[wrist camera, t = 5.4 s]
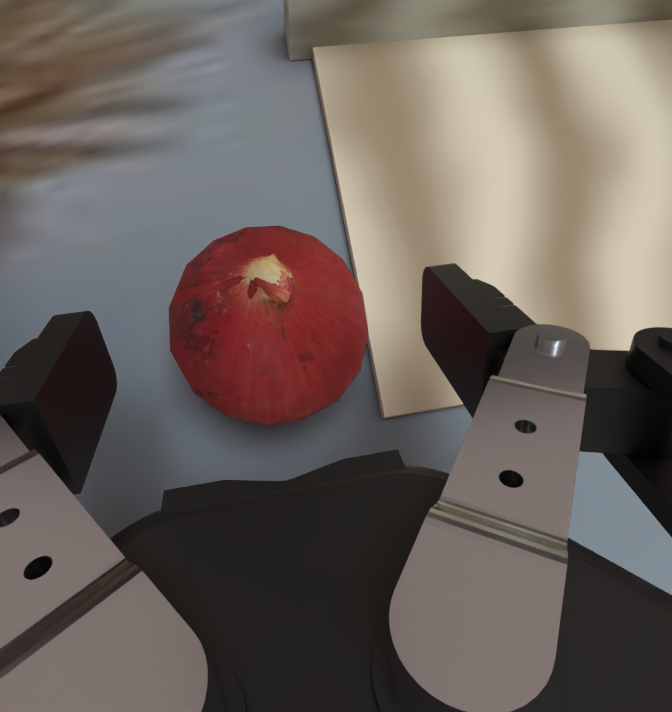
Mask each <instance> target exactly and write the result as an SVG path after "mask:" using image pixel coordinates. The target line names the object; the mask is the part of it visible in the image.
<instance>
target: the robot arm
mask: <svg viewBox="0 0 672 712" xmlns="http://www.w3.org/2000/svg"><path fill="white" fill-rule="evenodd" d="M421 332H422V337H423V341H424V344H425V346H426V348H427V349H428V351H429V352H430V354H431V355H432V357H433V358H434V360H435V361H436V363H437V364H438V366H439V367H440V369H441V370H442V372H443V374H444V375H445V377H446V378H447V380H448V381H449V383H450V384H451V386H452V387H453V389H454V390H455V392H456V393H457V395H458V396H459V398H460V400H461V401H462V403H463V404H464V406H465V407H466V409H467V410H468V412H469V413H470V415H471V416H472V418H473V420H472V422H471V424H470V427H469V429H468V432H467V434H466V436H465V439H464V441H463V444H462V446H461V448H460V451H459V453H458V456H457V458H456V461H455V463H454V465H453V468H452V470H451V473H450V474H448V473H445V472H441V471H438V470H433V469H429V468H423V467H414V466H404V463H403V461H402V458H401V456H400V453H399V451H398V450H393V451H387V452H381V453H376V454H370V455H364V456H359V457H353V458H347V459H342V460H340V461H337V462H334V463H332V464H329V465H327V466H324V467H321V468H319V469H316V470H314V471H311V472H309V473H306V474H303V475H301V476H298V477H296V478H293V479H290V480H286V481H243V480H222V481H216V482H210V483H205V484H199V485H193V486H188V487H182V488H176V489H171V490H165V491H164V494H163V500H162V507H161V510H159V511H157V512H154V513H152V514H150V515H148V516H146V517H144V518H142V519H140V520H138V521H136V522H135V523H133V524H131V525H129V526H128V527H126V528H125V529H123V530H122V531H120V532H119V533H117V534H116V535H115V536H113V537H112V538H111V539H109V537H108V536H107V535H106V534H105V533H104V531H103V530H102V529H101V528H100V526H99V525H98V524H97V523H96V522H95V520H94V519H93V518H92V517H91V516H90V514H89V513H88V512H87V511H86V510H85V508H84V507H83V506H82V505H81V504H80V502H79V501H78V500H77V499H76V497H75V496H74V495H73V494H79V493H81V490H82V488H83V485H84V482H85V479H86V476H87V473H88V470H89V468H90V465H91V462H92V459H93V456H94V453H95V451H96V448H97V445H98V442H99V439H100V436H101V434H102V431H103V428H104V425H105V422H106V419H107V416H108V414H109V411H110V408H111V405H112V402H113V399H114V397H115V394H116V389H117V379H116V373H115V369H114V366H113V363H112V360H111V358H110V355H109V352H108V350H107V347H106V344H105V342H104V339H103V336H102V334H101V331H100V328H99V326H98V323H97V321H96V319H95V317H94V315H93V314H92V313H91V312H90V311H83V312H76V313H68V314H61V315H54V316H53V317H52V318H51V320H50V321H49V322H48V324H47V325H46V327H45V328H44V330H43V331H42V332H41V334H40V335H39V337H38V338H37V339H33V340H31V341H30V342H28V343H27V344H26V345H24V346H23V347H21V348H20V349H19V350H17V351H16V352H15V353H14V354H13V356H12V357H11V358H10V360H9V361H8V362H7V364H6V365H5V368H3V369H2V370H1V372H0V712H672V595H670V594H668V593H667V592H665V591H663V590H661V589H659V588H658V587H656V586H654V585H652V584H650V583H649V582H647V581H645V580H643V579H642V578H640V577H638V576H636V575H634V574H633V573H631V572H629V571H627V570H625V569H624V568H622V567H620V566H618V565H616V564H615V563H613V562H611V561H609V560H607V559H606V558H604V557H602V556H600V555H598V554H597V553H595V552H593V551H591V550H589V549H588V548H586V547H584V546H582V545H580V544H579V543H577V542H575V541H573V540H571V539H570V538H568V532H569V525H570V517H571V510H572V502H573V495H574V488H575V480H576V473H577V465H578V458H579V451H583V452H598V453H603V454H604V456H605V457H606V458H607V460H608V461H609V462H610V463H611V464H612V466H613V467H614V468H615V469H616V470H617V472H618V473H619V474H620V475H621V477H622V478H623V479H624V480H625V481H626V483H627V484H628V485H629V486H630V487H631V489H632V490H633V491H634V492H635V493H636V495H637V496H638V497H639V498H640V499H641V501H642V502H643V503H644V504H645V506H646V507H647V508H648V509H649V510H650V512H651V513H652V514H653V515H654V516H655V518H656V519H657V520H658V521H659V522H660V524H661V525H662V526H663V527H664V529H665V530H666V531H667V532H668V533H669V535H670V536H671V537H672V328H667V327H652V328H645V329H642V330H640V331H638V332H637V333H635V335H634V337H633V340H632V343H631V346H630V350H629V351H621V350H595V349H590V344H589V342H588V340H587V339H586V338H585V337H584V336H583V335H581V334H580V333H578V332H576V331H574V330H571V329H569V328H566V327H562V326H557V325H550V324H536V323H535V322H534V321H533V320H532V319H531V318H529V317H528V316H527V315H526V314H525V313H524V312H523V311H522V310H520V309H519V308H518V307H517V306H516V305H514V303H513V302H512V301H510V300H509V299H508V298H507V297H506V298H505V295H504V294H503V293H501V292H500V291H499V290H498V289H497V288H496V287H495V286H493V285H490V284H488V283H486V282H483V281H481V280H479V279H472V278H471V277H470V276H469V275H468V274H467V273H466V272H464V271H463V270H462V269H461V268H460V267H459V266H458V265H457V264H456V263H451V264H443V265H436V266H428V267H425V268H424V271H423V275H422V298H421Z"/></svg>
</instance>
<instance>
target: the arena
mask: <svg viewBox="0 0 672 712" xmlns="http://www.w3.org/2000/svg"><path fill="white" fill-rule="evenodd" d="M284 29H285V38H286V43H287V49H288V54H289V60H290V61H293V60H306V59H312V60H313V65H314V70H315V76H316V81H317V86H318V91H319V96H320V101H321V107H322V112H323V117H324V122H325V127H326V132H327V138H328V143H329V148H330V153H331V158H332V164H333V169H334V174H335V179H336V184H337V189H338V195H339V200H340V205H341V210H342V215H343V220H344V226H345V231H346V236H347V241H348V246H349V251H350V257H351V262H352V267H353V272H354V277H355V281H356V283H357V284H358V286H359V288H360V290H361V291H362V293H363V299H364V305H365V312H366V318H367V325H368V335H369V336H368V340H367V344H368V350H369V355H370V360H371V365H372V370H373V375H374V381H375V386H376V391H377V396H378V401H379V406H380V412H381V417H382V419H384V418H390V417H396V416H402V415H408V414H414V413H419V412H425V411H431V410H437V409H443V408H449V407H455V406H461V405H464V404H463V403H462V401H461V400H460V398H459V396H458V395H457V393H456V392H455V390H454V389H453V387H452V386H451V384H450V383H449V381H448V380H447V378H446V377H445V375H444V374H443V372H442V370H441V369H440V367H439V366H438V364H437V363H436V361H435V360H434V358H433V357H432V355H431V354H430V352H429V351H428V349H427V348H426V346H425V344H424V341H423V337H422V332H421V298H422V275H423V271H424V268H425V267H428V266H436V265H443V264H451V263H456V264H457V265H458V266H459V267H460V268H461V269H462V270H463V271H464V272H466V273H467V274H468V275H469V276H470V277H471V278H472V279H479V280H481V281H483V282H486V283H488V284H490V285H493V286H495V287H496V288H497V289H498V290H499V291H500V292H501V293H503V294H504V295H505V298H506V297H507V298H508V299H509V300H510V301H512V302H513V303H514V305H516V306H517V307H518V308H519V309H520V310H522V311H523V312H524V313H525V314H526V315H527V316H528V317H529V318H531V319H532V320H533V321H534V322H535V323H536V324H550V325H557V326H562V327H566V328H569V329H571V330H574V331H576V332H578V333H580V334H581V335H583V336H584V337H585V338H586V339H587V340H588V342H589V344H590V349H595V350H621V351H629V350H630V346H631V343H632V340H633V337H634V335H635V333H637V332H638V331H640V330H642V329H645V328H652V327H667V328H672V0H284Z"/></svg>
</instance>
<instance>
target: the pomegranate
mask: <svg viewBox="0 0 672 712" xmlns="http://www.w3.org/2000/svg"><path fill="white" fill-rule="evenodd" d="M169 327H170V351H171V353H172V355H173V356H174V358H175V360H176V362H177V363H178V365H179V367H180V369H181V371H182V372H183V374H184V376H185V378H186V379H187V381H188V383H189V385H190V386H191V388H192V390H193V392H194V393H195V394H196V395H198V396H199V397H201V398H202V399H204V400H205V401H206V402H208V403H209V404H211V405H212V406H214V407H215V408H217V409H218V410H220V411H221V412H223V413H224V414H225V415H227V416H229V417H233V418H237V419H242V420H246V421H250V422H254V423H259V424H263V425H270V424H277V423H283V422H289V421H296V420H302V419H305V418H307V417H309V416H310V415H312V414H314V413H316V412H318V411H319V410H321V409H323V408H325V407H327V406H329V405H330V404H332V403H334V402H336V401H337V400H338V399H339V398H340V396H341V395H342V394H343V392H344V391H345V390H346V389H347V387H348V386H349V385H350V383H351V382H352V381H353V379H354V378H355V377H356V375H357V374H358V373H359V372H360V369H361V365H362V361H363V357H364V353H365V348H366V344H367V340H368V336H369V335H368V325H367V318H366V312H365V305H364V299H363V293H362V291H361V290H360V288H359V286H358V284H357V283H356V281H355V279H354V277H353V276H352V274H351V272H350V270H349V269H348V267H347V265H346V263H345V262H344V261H343V259H342V258H341V257H339V256H338V255H337V254H336V253H334V252H333V251H332V250H331V249H329V248H328V247H327V246H326V245H324V244H323V243H322V242H321V241H319V240H318V239H317V238H315V237H314V236H311V235H308V234H304V233H301V232H298V231H295V230H291V229H288V228H285V227H282V226H266V227H247V228H243V229H241V230H238V231H236V232H233V233H231V234H229V235H226V236H224V237H221V238H219V239H216V240H214V241H213V242H211V243H210V244H209V245H208V246H207V247H206V248H205V249H204V250H203V251H201V252H200V253H199V254H198V255H197V256H196V257H195V258H194V259H193V260H191V261H190V262H189V263H188V264H187V265H186V267H185V270H184V272H183V275H182V277H181V280H180V282H179V284H178V287H177V289H176V292H175V294H174V297H173V299H172V301H171V304H170V306H169Z"/></svg>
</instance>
